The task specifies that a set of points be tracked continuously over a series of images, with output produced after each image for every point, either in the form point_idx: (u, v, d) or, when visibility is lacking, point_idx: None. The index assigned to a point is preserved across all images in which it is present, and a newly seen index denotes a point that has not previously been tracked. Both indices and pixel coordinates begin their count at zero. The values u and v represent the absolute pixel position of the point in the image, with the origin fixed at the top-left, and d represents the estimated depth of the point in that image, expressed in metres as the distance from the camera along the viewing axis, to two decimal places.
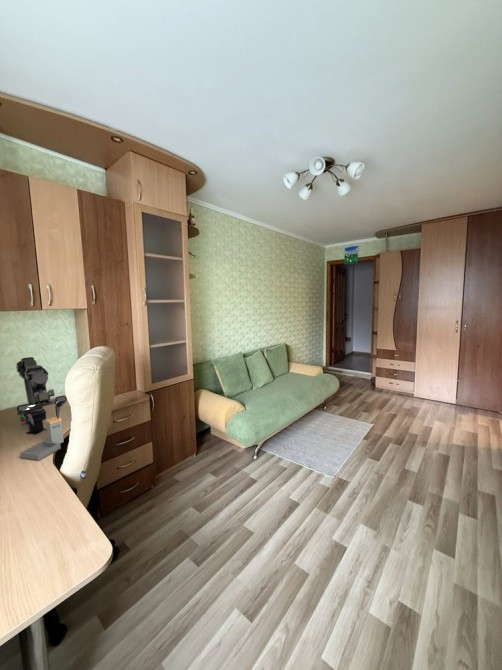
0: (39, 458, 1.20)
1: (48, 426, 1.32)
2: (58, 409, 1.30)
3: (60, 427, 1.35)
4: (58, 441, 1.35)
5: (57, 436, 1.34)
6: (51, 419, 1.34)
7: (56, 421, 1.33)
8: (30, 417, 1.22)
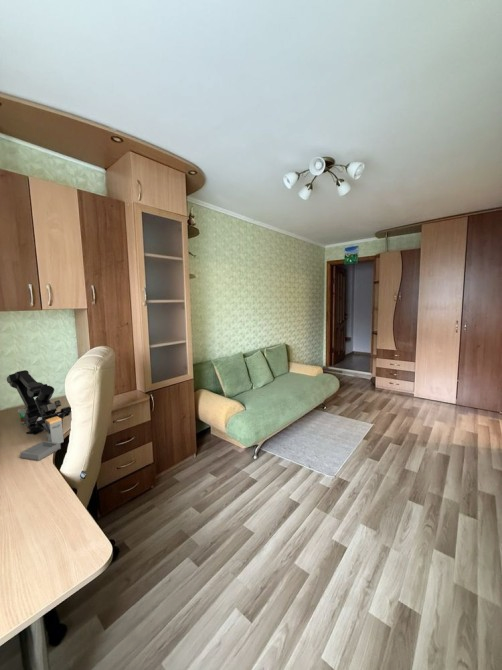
0: (39, 458, 1.20)
1: (48, 426, 1.32)
2: None
3: (60, 427, 1.35)
4: (58, 441, 1.35)
5: (57, 436, 1.34)
6: (51, 419, 1.34)
7: (56, 421, 1.33)
8: (45, 426, 1.32)
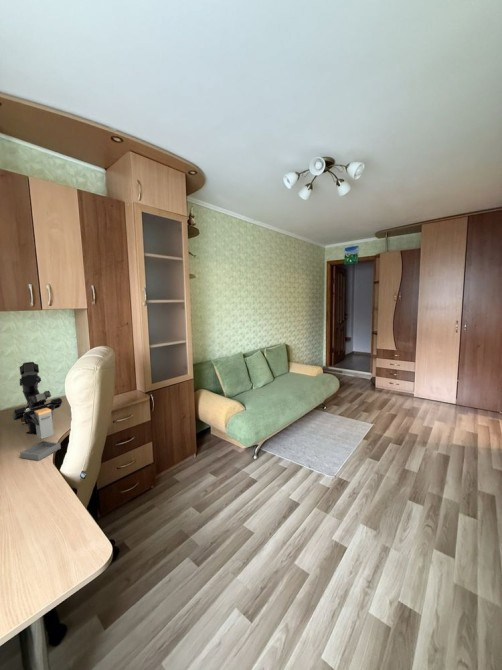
0: (39, 458, 1.20)
1: (37, 417, 1.25)
2: (51, 412, 1.31)
3: (50, 419, 1.28)
4: (48, 433, 1.27)
5: (47, 428, 1.27)
6: (40, 410, 1.27)
7: (45, 412, 1.26)
8: (34, 417, 1.25)
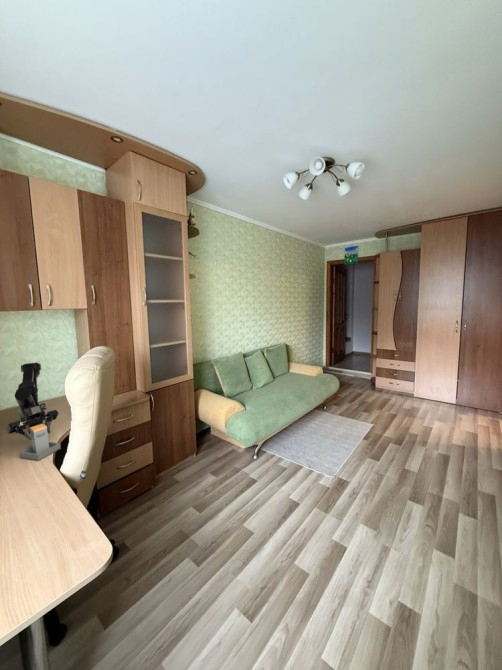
0: (39, 458, 1.20)
1: (32, 434, 1.23)
2: (49, 424, 1.29)
3: (45, 435, 1.25)
4: (43, 450, 1.25)
5: (42, 445, 1.24)
6: (35, 427, 1.24)
7: (41, 429, 1.24)
8: (26, 432, 1.21)
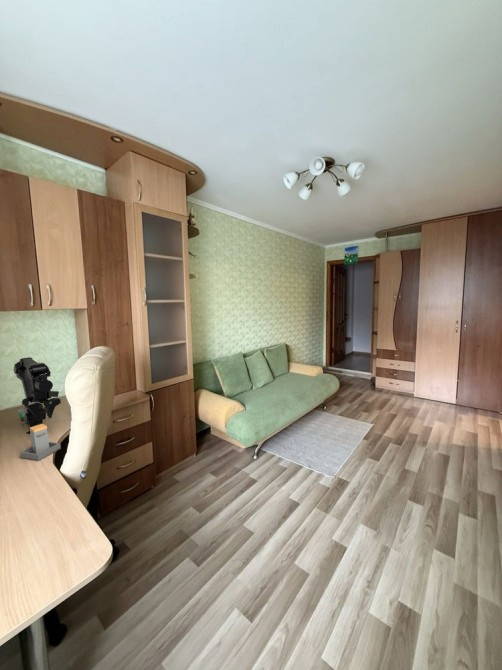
0: (39, 458, 1.20)
1: (32, 434, 1.23)
2: None
3: (45, 435, 1.25)
4: (43, 450, 1.25)
5: (42, 445, 1.24)
6: (36, 427, 1.24)
7: (41, 429, 1.24)
8: None
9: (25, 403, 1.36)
